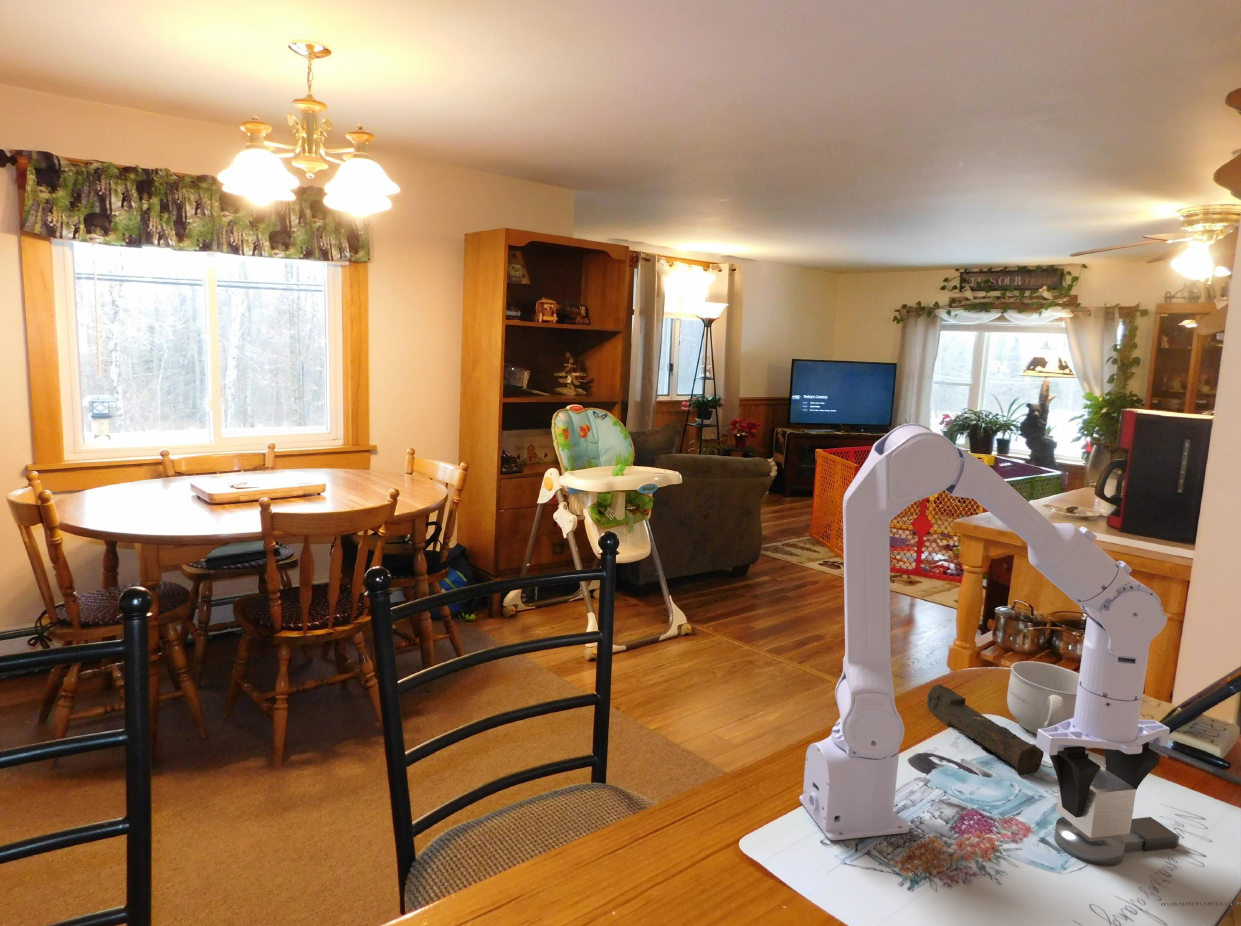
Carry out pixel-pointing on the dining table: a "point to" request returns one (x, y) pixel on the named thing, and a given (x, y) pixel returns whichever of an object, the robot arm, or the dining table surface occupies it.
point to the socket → (1104, 807)
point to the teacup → (1041, 694)
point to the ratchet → (1113, 841)
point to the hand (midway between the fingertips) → (1093, 809)
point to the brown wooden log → (984, 730)
